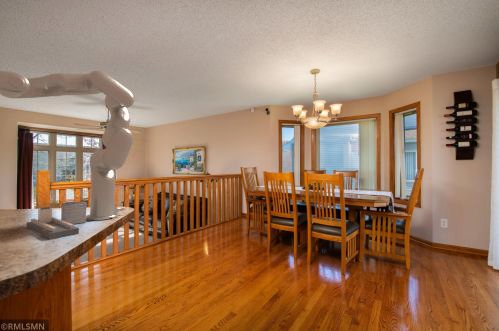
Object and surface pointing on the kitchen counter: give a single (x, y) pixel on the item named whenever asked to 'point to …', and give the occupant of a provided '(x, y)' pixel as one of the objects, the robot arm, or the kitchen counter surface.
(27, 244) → the kitchen counter surface
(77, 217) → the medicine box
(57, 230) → the console board
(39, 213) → the fader tab
